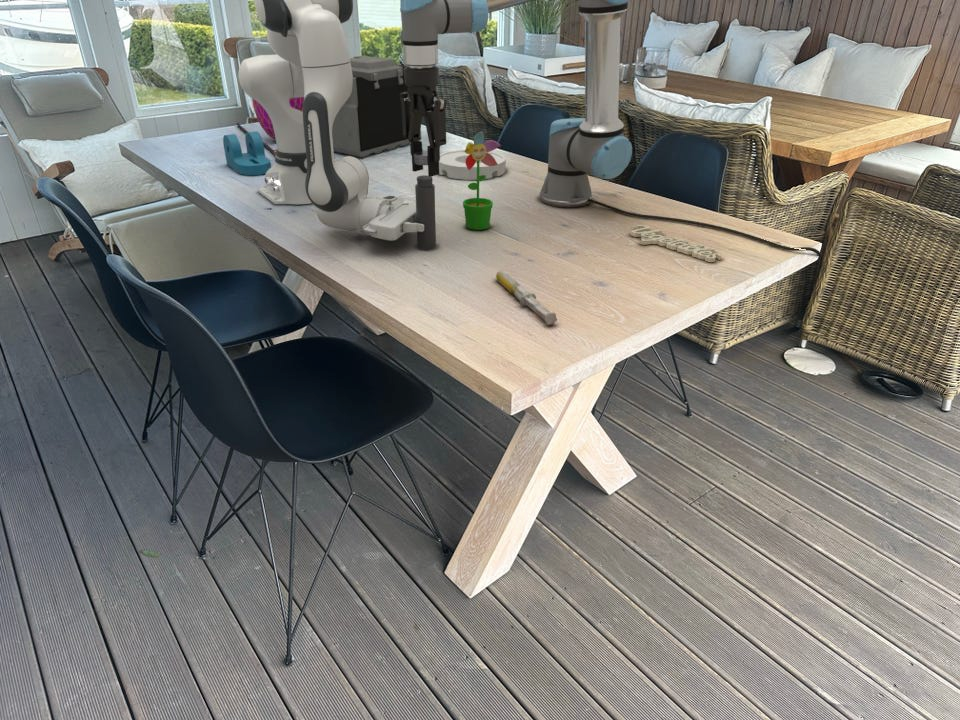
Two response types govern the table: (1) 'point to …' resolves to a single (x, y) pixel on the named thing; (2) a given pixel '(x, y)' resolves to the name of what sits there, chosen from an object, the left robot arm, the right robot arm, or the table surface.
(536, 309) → the syringe
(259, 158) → the camera mount
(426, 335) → the table surface
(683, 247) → the decorative sign
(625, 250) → the table surface
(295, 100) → the decorative egg
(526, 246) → the table surface
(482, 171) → the ashtray
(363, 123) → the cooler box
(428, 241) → the bottle
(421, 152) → the lid
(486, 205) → the potted flower
